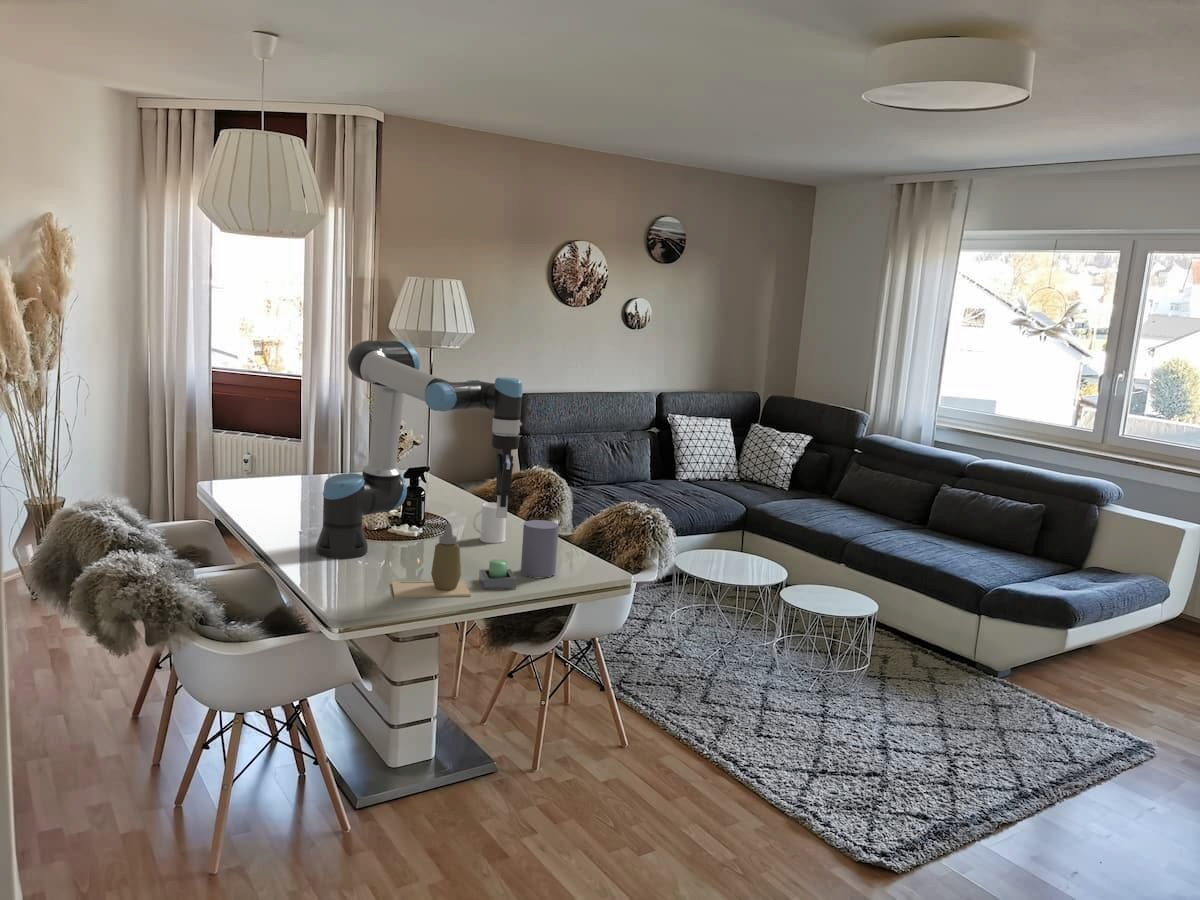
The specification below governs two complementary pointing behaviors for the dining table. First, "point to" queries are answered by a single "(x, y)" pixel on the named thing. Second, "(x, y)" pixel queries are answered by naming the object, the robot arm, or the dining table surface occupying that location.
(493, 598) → the dining table surface
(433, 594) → the sketch pad
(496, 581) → the button housing
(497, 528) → the mug
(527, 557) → the container
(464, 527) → the dining table surface
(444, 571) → the squeeze bottle
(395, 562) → the dining table surface
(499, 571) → the button
